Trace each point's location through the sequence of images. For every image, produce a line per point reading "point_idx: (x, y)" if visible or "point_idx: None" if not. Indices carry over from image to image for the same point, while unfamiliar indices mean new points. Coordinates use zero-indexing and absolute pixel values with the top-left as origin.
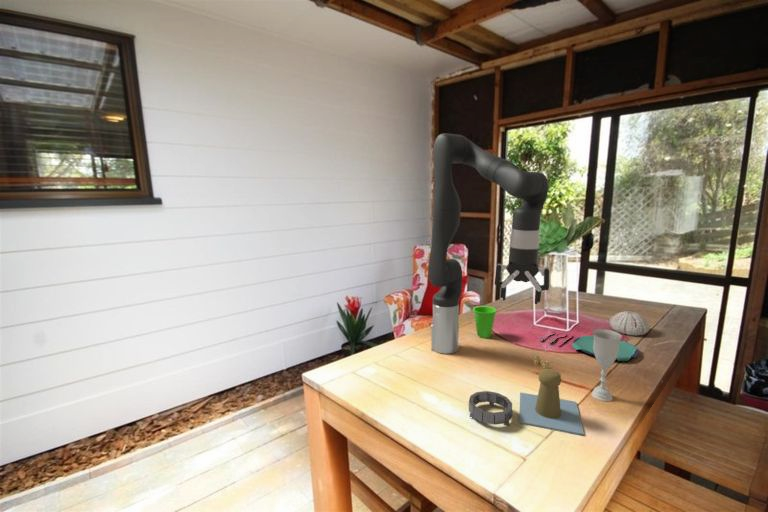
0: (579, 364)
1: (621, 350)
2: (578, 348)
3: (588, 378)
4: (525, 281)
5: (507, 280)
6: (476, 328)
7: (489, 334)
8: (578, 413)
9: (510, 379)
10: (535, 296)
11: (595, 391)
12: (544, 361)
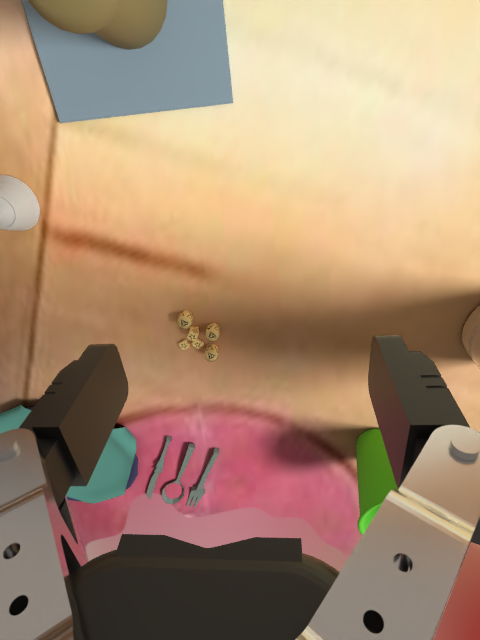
0: None
1: None
2: (117, 431)
3: (67, 295)
4: (146, 545)
5: (446, 527)
6: None
7: (361, 442)
8: (34, 37)
9: (274, 195)
10: (81, 386)
11: (18, 199)
12: (187, 335)
